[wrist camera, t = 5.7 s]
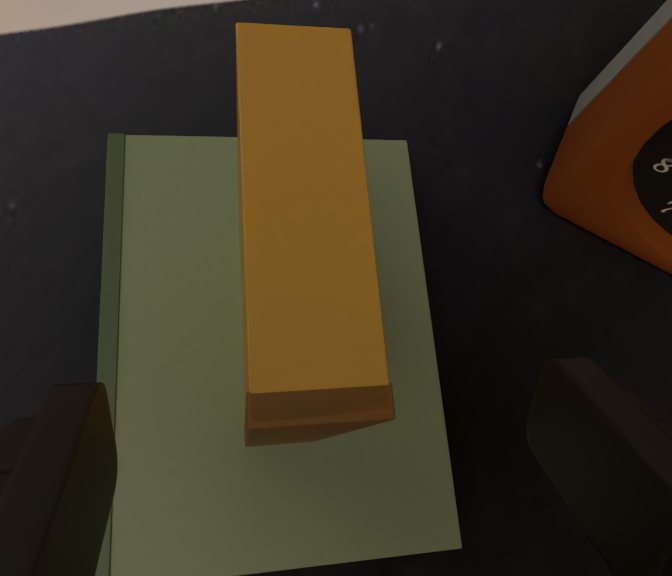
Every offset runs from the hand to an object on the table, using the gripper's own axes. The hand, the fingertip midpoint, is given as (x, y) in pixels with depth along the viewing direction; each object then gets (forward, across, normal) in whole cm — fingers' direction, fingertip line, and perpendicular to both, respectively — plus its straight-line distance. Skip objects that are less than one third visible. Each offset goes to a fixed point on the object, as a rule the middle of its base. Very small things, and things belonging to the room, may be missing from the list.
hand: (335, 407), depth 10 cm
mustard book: (+14, 0, +7) cm, 15 cm away
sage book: (+16, 0, +9) cm, 18 cm away
